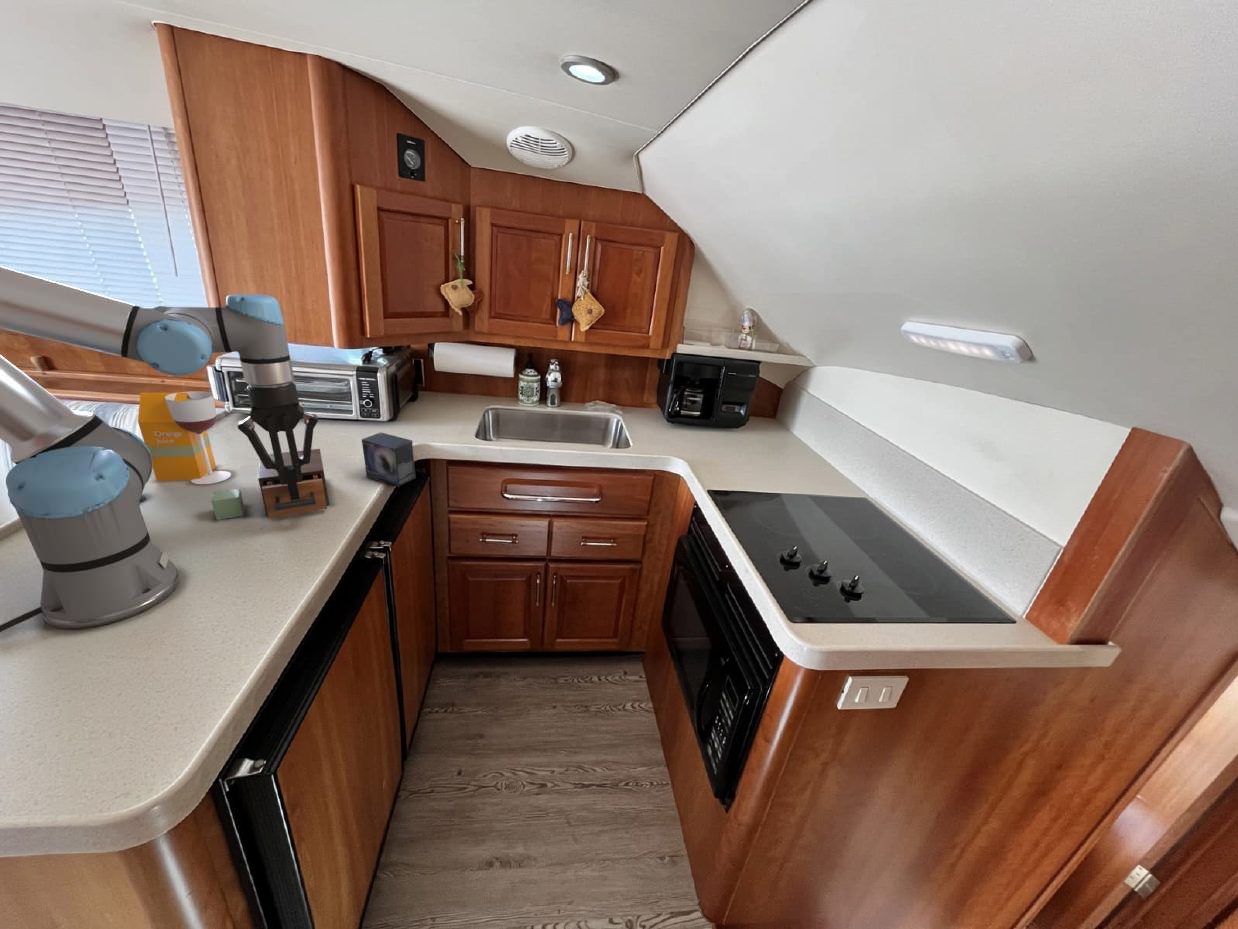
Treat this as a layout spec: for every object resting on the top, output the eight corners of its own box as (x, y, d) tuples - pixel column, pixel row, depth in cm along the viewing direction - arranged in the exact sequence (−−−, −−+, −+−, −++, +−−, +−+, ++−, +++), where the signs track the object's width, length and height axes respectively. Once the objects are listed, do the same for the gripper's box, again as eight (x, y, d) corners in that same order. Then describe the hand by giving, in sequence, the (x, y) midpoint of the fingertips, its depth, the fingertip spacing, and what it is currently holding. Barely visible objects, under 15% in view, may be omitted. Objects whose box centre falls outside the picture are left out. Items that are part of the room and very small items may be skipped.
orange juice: (173, 467, 119) (149, 388, 112) (216, 466, 122) (196, 388, 114) (155, 481, 113) (129, 397, 105) (201, 479, 115) (178, 397, 107)
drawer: (328, 519, 102) (323, 489, 99) (268, 529, 97) (261, 499, 94) (323, 485, 115) (318, 459, 113) (269, 493, 110) (263, 465, 107)
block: (216, 520, 100) (211, 501, 98) (218, 510, 103) (213, 492, 102) (243, 515, 102) (238, 497, 100) (244, 506, 106) (240, 488, 104)
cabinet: (329, 505, 109) (323, 470, 106) (266, 515, 103) (257, 478, 100) (325, 481, 119) (319, 448, 116) (267, 489, 113) (260, 455, 110)
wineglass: (209, 487, 112) (186, 403, 104) (179, 480, 114) (154, 397, 106) (241, 474, 119) (222, 394, 112) (213, 468, 121) (192, 389, 113)
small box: (364, 477, 123) (359, 438, 119) (384, 469, 128) (380, 431, 124) (397, 487, 119) (393, 447, 115) (417, 478, 125) (413, 439, 121)
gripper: (310, 376, 96) (330, 484, 106) (227, 380, 90) (256, 495, 99) (313, 385, 91) (333, 498, 100) (224, 390, 84) (255, 511, 93)
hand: (295, 496), depth 99 cm, fingers closed
